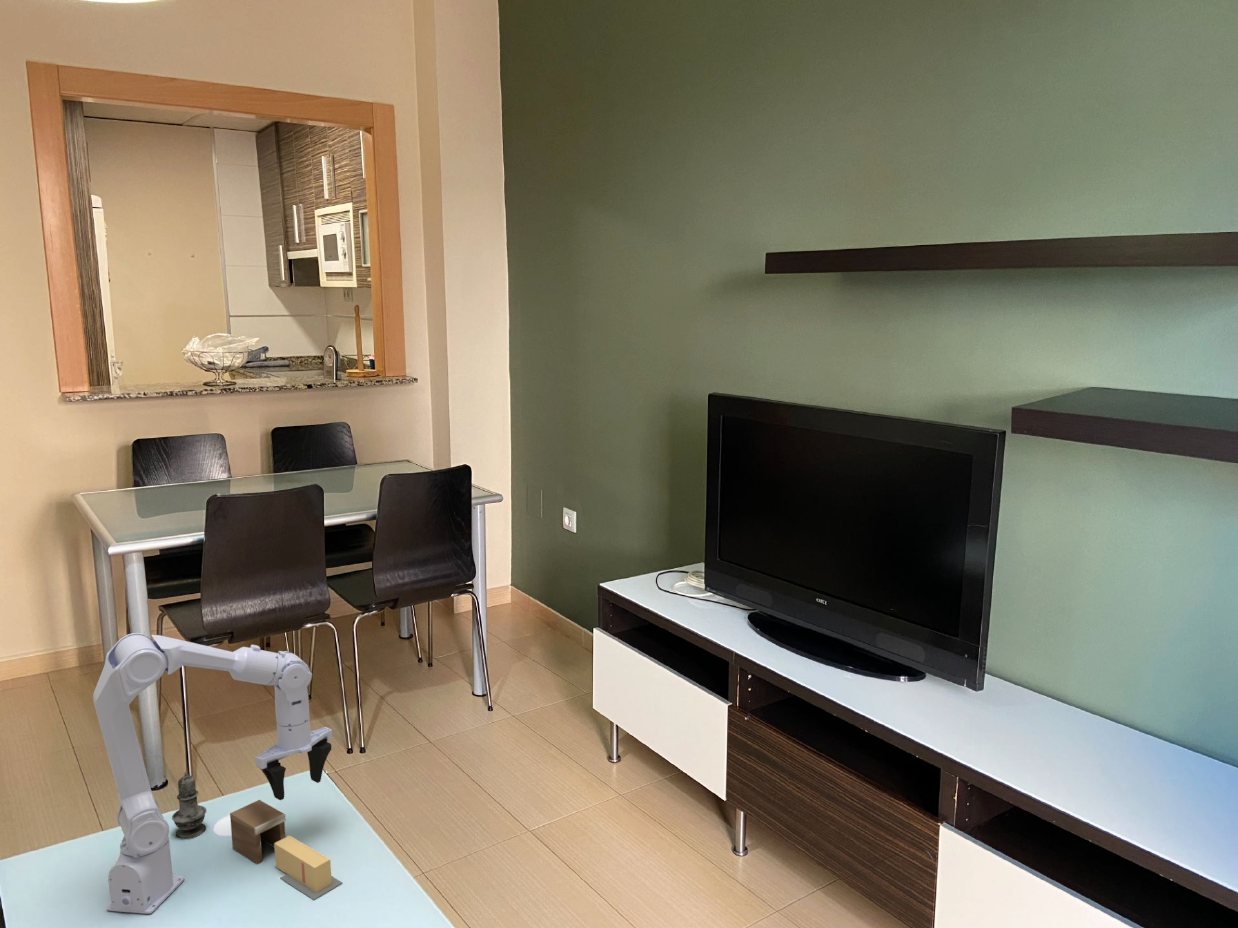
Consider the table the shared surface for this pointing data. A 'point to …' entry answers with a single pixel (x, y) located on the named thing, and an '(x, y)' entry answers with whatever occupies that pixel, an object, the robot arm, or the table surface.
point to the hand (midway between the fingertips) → (297, 789)
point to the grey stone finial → (188, 810)
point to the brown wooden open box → (256, 829)
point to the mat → (307, 890)
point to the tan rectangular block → (303, 863)
